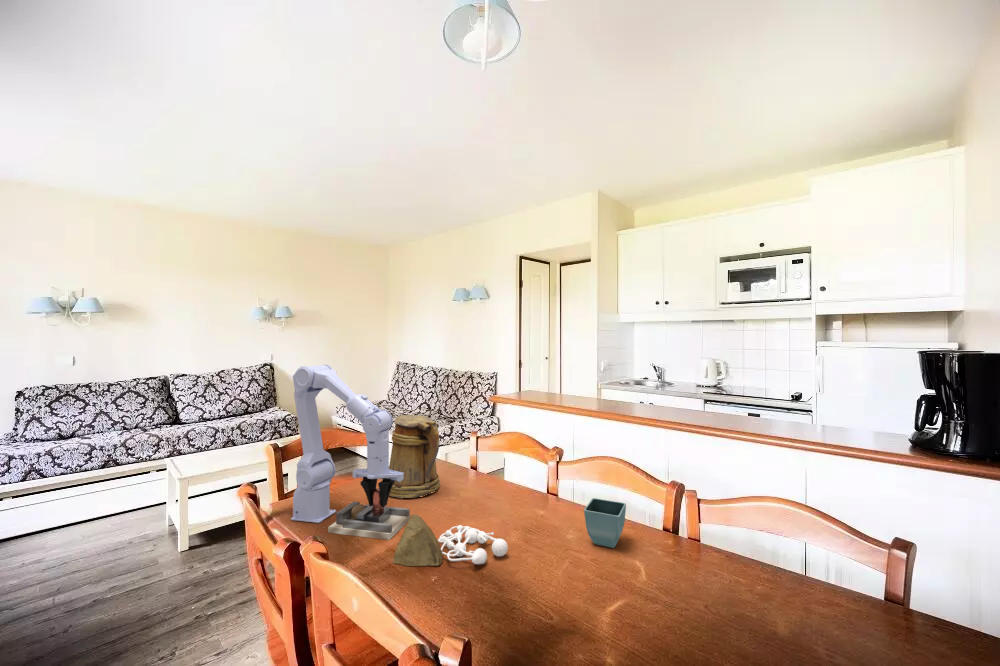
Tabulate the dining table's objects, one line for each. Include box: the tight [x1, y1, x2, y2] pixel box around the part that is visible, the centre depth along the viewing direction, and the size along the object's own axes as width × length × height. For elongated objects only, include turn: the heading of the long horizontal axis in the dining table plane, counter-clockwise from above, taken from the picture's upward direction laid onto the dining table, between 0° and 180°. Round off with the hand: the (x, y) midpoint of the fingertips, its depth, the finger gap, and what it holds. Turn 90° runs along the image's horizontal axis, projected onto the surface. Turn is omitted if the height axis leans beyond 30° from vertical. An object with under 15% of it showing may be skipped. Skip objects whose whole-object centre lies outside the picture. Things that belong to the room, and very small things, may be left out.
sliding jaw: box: [357, 487, 390, 523], centre depth 111 cm, size 6×8×8 cm
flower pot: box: [583, 497, 627, 549], centre depth 102 cm, size 9×9×9 cm
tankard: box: [389, 414, 441, 499], centre depth 138 cm, size 18×24×25 cm
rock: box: [392, 513, 444, 567], centre depth 93 cm, size 11×9×10 cm
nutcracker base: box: [327, 501, 411, 541], centre depth 112 cm, size 18×12×4 cm, turn 76°
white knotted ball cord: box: [437, 524, 509, 565], centre depth 99 cm, size 19×14×4 cm
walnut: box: [351, 503, 365, 520], centre depth 112 cm, size 4×4×4 cm
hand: (378, 505), depth 111 cm, fingers closed on sliding jaw, 3 cm apart
